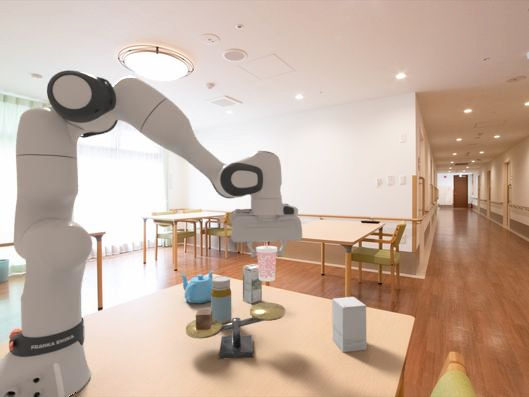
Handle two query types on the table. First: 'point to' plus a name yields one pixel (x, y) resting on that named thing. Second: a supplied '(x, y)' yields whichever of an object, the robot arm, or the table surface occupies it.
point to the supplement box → (349, 324)
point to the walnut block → (203, 319)
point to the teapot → (198, 288)
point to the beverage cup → (266, 262)
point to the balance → (237, 330)
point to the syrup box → (251, 284)
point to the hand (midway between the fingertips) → (266, 256)
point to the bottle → (221, 299)
